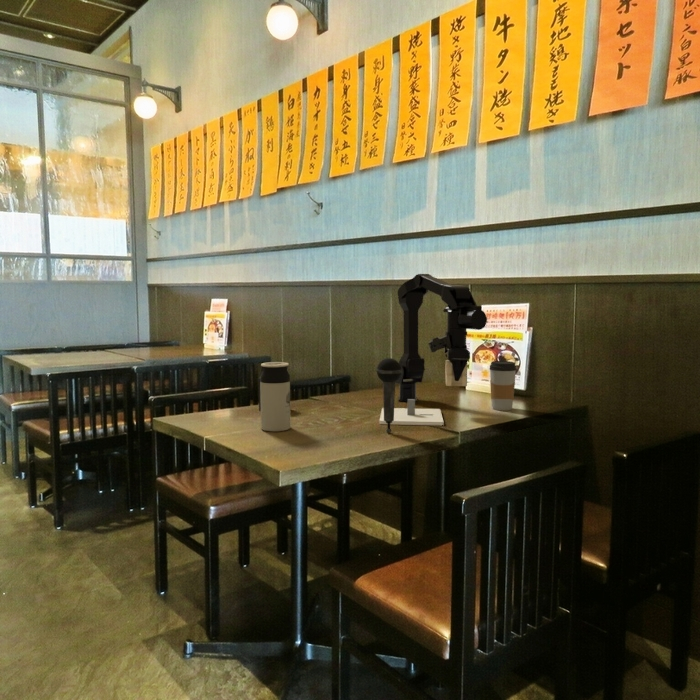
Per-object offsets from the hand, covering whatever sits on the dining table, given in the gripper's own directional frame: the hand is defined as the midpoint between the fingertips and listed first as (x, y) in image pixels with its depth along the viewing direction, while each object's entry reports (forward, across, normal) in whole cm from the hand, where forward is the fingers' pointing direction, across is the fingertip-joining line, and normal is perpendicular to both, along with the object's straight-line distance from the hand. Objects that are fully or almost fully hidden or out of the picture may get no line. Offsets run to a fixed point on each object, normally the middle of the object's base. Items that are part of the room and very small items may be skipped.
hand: (455, 379), depth 173 cm
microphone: (+11, +25, -20) cm, 33 cm away
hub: (+11, +6, -14) cm, 18 cm away
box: (+11, -4, -57) cm, 59 cm away
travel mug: (+11, +22, -50) cm, 56 cm away
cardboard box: (+2, 0, 0) cm, 2 cm away
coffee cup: (+11, -10, +16) cm, 22 cm away
